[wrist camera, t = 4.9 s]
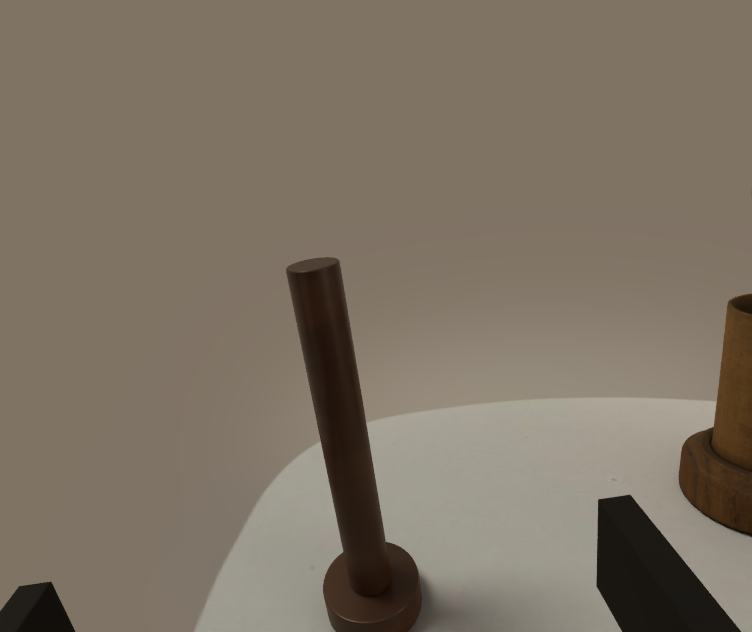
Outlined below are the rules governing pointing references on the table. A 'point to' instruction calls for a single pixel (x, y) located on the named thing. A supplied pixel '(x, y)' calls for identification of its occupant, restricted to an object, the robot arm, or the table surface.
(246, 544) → the table surface
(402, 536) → the table surface
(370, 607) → the stick
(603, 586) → the robot arm
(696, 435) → the mortar and pestle
